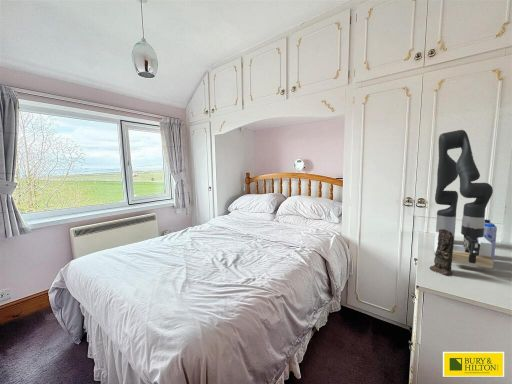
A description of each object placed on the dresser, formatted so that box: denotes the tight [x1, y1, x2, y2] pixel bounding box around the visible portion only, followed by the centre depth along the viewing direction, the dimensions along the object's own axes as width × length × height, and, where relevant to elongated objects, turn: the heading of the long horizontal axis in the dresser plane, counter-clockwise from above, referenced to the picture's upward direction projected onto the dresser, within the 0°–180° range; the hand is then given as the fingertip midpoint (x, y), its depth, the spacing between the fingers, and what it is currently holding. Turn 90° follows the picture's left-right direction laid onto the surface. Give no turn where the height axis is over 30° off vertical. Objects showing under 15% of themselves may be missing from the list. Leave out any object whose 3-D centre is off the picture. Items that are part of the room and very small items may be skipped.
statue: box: [429, 229, 455, 276], centre depth 100 cm, size 7×7×20 cm
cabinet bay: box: [433, 231, 492, 269], centre depth 112 cm, size 12×19×12 cm, turn 58°
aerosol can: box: [477, 219, 498, 260], centre depth 115 cm, size 8×8×20 cm
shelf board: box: [452, 250, 494, 269], centre depth 102 cm, size 6×14×4 cm, turn 52°
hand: (469, 260), depth 102 cm, fingers closed on shelf board, 5 cm apart
